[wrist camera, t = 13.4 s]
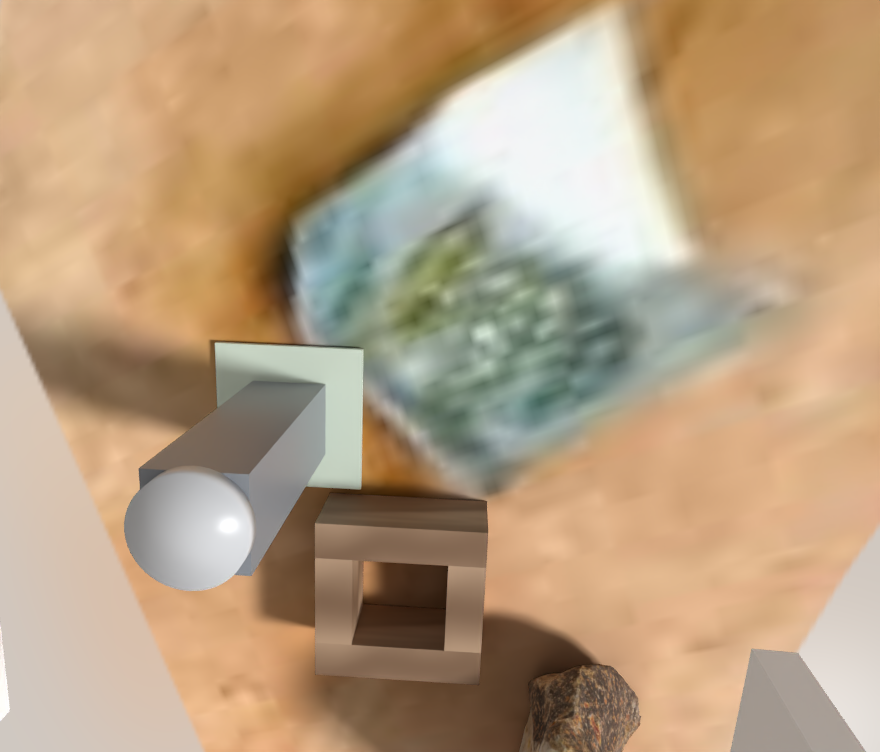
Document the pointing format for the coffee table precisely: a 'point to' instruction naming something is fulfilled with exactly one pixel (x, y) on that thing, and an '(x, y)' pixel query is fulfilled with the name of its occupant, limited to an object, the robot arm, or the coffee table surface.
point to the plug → (227, 485)
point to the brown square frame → (396, 627)
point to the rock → (580, 711)
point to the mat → (313, 367)
